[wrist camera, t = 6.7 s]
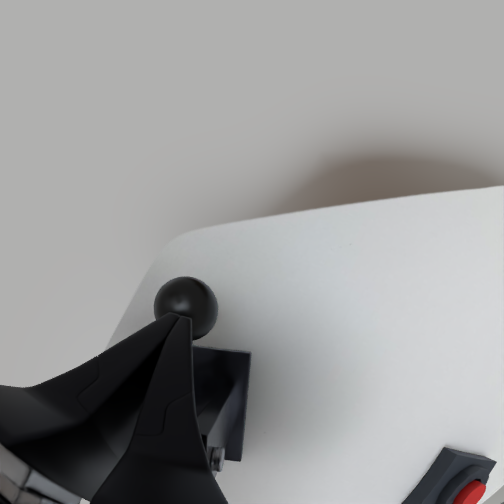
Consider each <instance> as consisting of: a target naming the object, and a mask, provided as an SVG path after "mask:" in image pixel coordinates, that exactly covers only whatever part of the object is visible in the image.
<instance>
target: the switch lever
mask: <svg viewBox="0 0 504 504" xmlns="http://www.w3.org/2000/svg"><path fill="white" fill-rule="evenodd" d="M170 312H171V313H174V314H178V315H180V316H184V317H188V318H191V319H192V341H193V340H197V339H199V338H201V337H203V336H205V335H206V334H207V333H208V332H209V331H210V330H211V329H212V328H213V326H214V324H215V323H216V320H217V316H218V304H217V299H216V297H215V295H214V293H213V291H212V290H211V289H210V287H209V286H208V285H206V284H205V283H204V282H202V281H201V280H198V279H196V278H193V277H178V278H174V279H172V280H170V281H168V282H167V283H166V284H164V285H163V286H162V287H161V289H160V290H159V292H158V293H157V295H156V298H155V302H154V314H155V318H156V320H157V319H159V318H161V317H162V316H164V315H165V314H167V313H170Z"/></svg>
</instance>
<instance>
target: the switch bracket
mask: <svg viewBox="0 0 504 504" xmlns="http://www.w3.org/2000/svg"><path fill="white" fill-rule="evenodd" d="M192 351H193V378H194V395H195V407H196V416H197V420H198V425H199V430H200V433H201V437H202V441H203V444H204V448H205V451H206V455H207V458H208V462H209V465H210V468H211V470H212V473H213V475H214V478H215V477H216V474H217V472H221V471H222V468H223V464H224V460H231V461H239V462H240V461H241V458H242V450H243V440H244V430H245V419H246V409H247V398H248V387H249V376H250V365H251V354H252V353H251V352H249V351H239V350H229V349H220V348H212V347H204V346H197V345H192Z"/></svg>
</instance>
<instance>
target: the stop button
mask: <svg viewBox="0 0 504 504" xmlns="http://www.w3.org/2000/svg"><path fill="white" fill-rule="evenodd" d="M485 490H486V486H485V485H484V484H482V483H481V482H479V481H477V480H473V481H471V482H469V483H468V484H467V485H466V486H465V487H464V488H463V489H462V490H461V491H460V492H459V493H458V495H457V496H456V497H455V499H454V501H453V504H476V503H477V502H478V501H479V500H480V499H481V497H482V496H483V494H484V492H485Z"/></svg>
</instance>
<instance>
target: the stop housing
mask: <svg viewBox="0 0 504 504" xmlns="http://www.w3.org/2000/svg"><path fill="white" fill-rule="evenodd" d="M496 463H497V462H496V461H494V460H491V459H489V458H487V457H484V456H479V455H474V454H470V453H465V452H461V451H457V450H453V449H449V448H445V447H444V449H443V450H442V452H441V453H440V455H439V456H438V458H437V459H436V461H435V462H434V464H433V465H432V467H431V468H430V469H429V471H428V472H427V473H426V475H425V476H424V478H423V479H422V480H421V481H420V483H419V484H418V485H417V487H416V488H415V489H414V490H413V492H412V493H411V494H410V495H409V496H408V498H407V499H406V500H405V501H404V502H403V503H402V504H453V501H454V499H455V497H456V496H457V495H458V493H459V492H460V491H461V490H462V489H463V488H464V487H465V486H466V485H467V484H468V483H469V482H471V481H473V480H477V481H479V482H481V483H482V484H484V485H486V483H487V481H488V478H489V474H490V472H491V471H492V469H493V467H494V466H495V464H496Z"/></svg>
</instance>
